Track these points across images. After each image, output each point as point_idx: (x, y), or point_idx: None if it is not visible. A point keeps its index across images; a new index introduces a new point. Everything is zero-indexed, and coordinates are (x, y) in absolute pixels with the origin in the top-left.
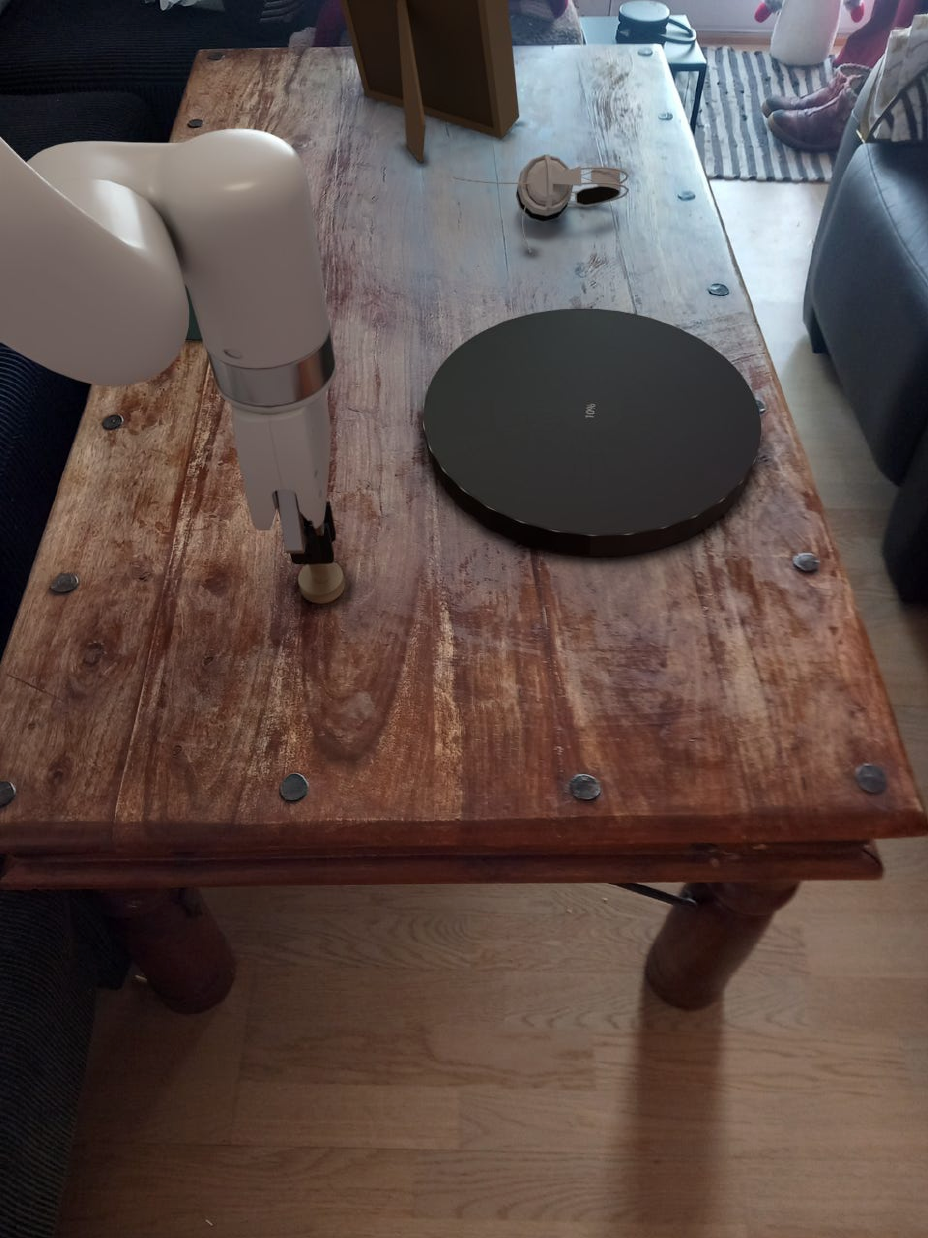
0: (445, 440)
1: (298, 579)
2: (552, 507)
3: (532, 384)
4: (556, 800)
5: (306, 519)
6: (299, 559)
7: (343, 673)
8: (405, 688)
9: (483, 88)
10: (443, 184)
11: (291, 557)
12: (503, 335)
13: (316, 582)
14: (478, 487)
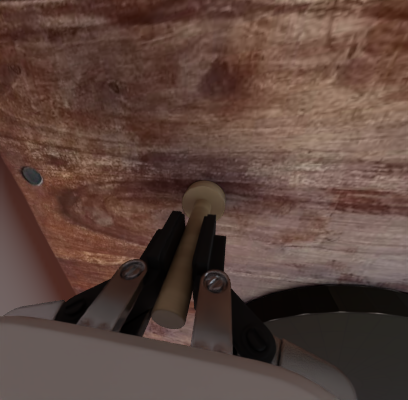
0: (345, 321)
1: (199, 186)
2: None
3: (387, 372)
4: (78, 289)
5: (130, 312)
6: (156, 231)
7: (124, 209)
8: (120, 243)
9: None
10: None
11: (170, 216)
12: None
13: (194, 203)
14: (274, 326)
